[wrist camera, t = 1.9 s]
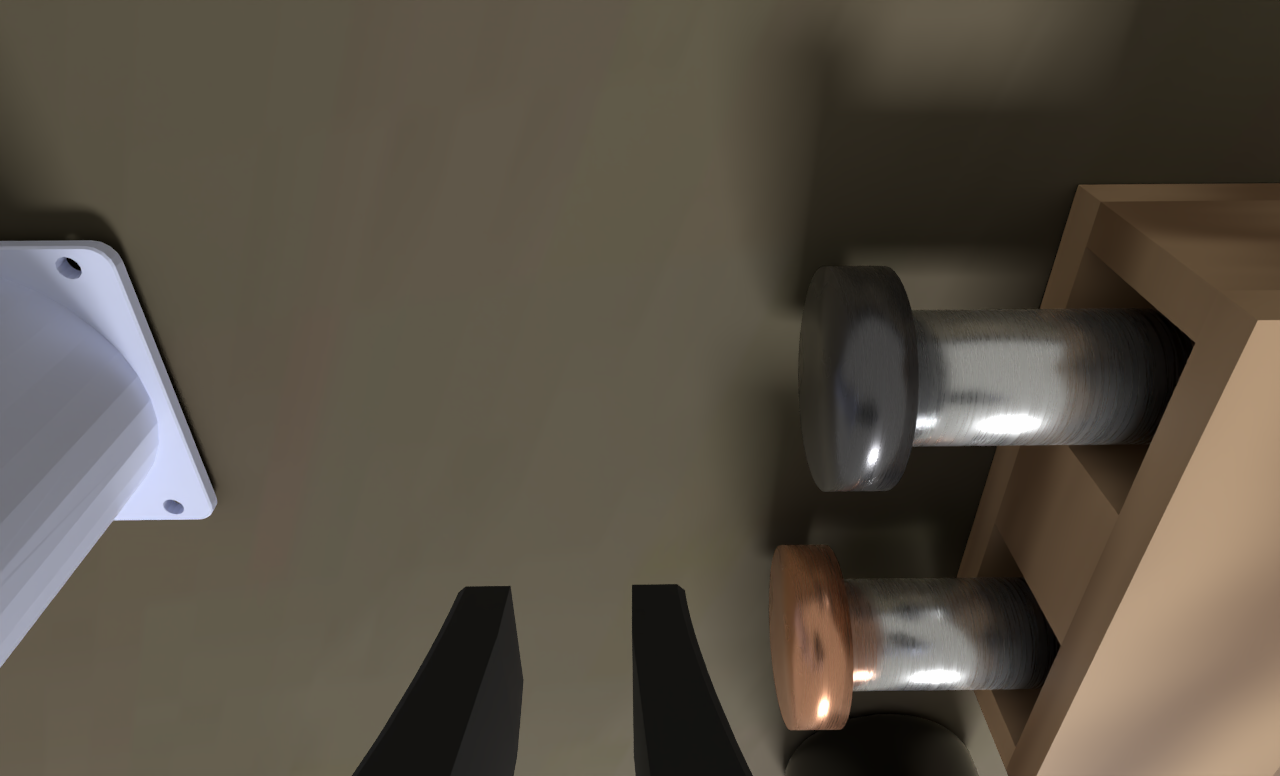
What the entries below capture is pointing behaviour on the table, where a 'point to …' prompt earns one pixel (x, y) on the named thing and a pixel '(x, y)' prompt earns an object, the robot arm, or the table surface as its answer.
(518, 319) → the table surface
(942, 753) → the supplement bottle
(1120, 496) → the catch block
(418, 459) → the table surface
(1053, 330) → the knob near
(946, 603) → the knob far
